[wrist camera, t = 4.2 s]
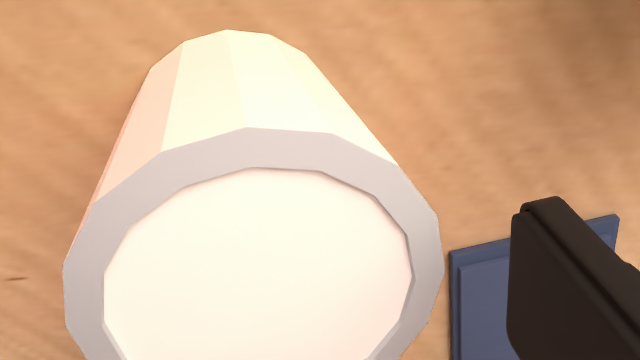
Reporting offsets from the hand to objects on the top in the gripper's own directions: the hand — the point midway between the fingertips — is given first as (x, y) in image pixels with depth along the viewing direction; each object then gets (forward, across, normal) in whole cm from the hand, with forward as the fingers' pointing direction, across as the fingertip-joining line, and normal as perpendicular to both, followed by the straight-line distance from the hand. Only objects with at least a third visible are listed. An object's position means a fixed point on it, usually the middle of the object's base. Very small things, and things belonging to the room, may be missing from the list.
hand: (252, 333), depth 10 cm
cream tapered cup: (+8, 0, 0) cm, 8 cm away
